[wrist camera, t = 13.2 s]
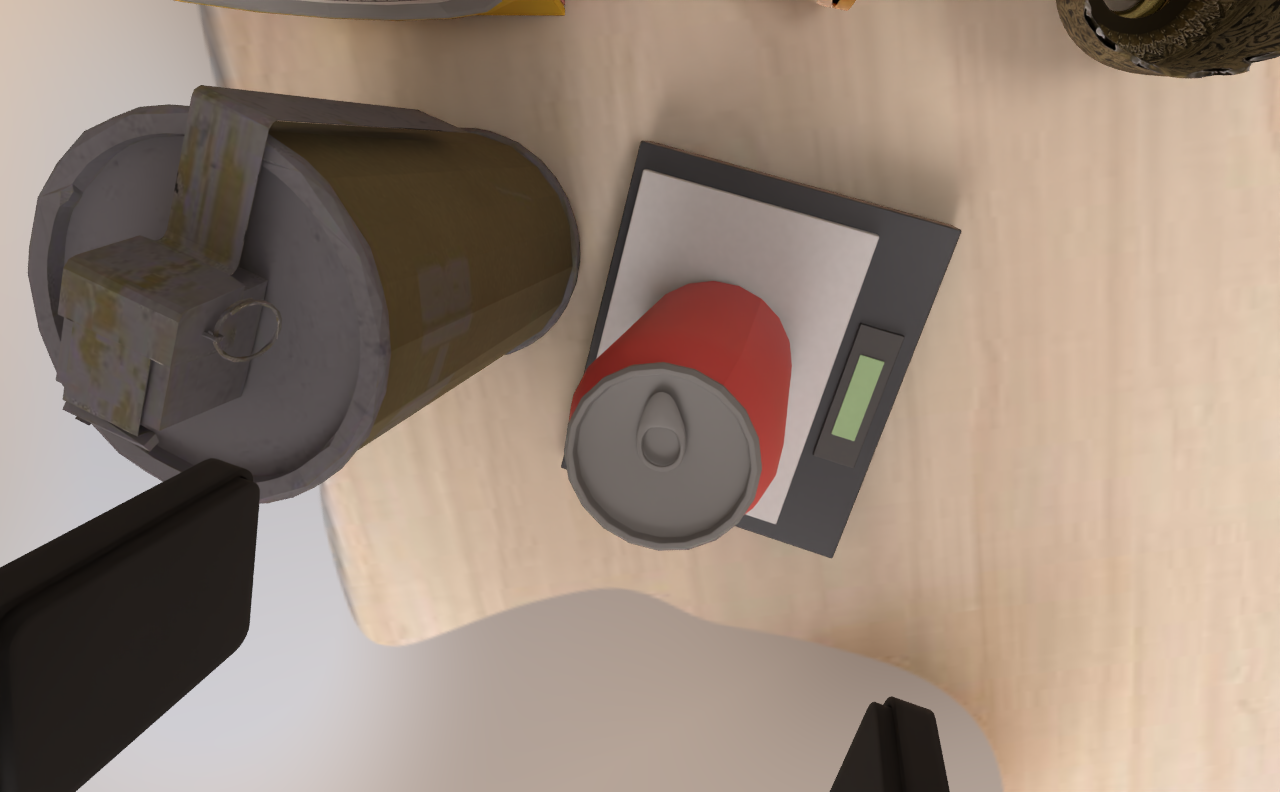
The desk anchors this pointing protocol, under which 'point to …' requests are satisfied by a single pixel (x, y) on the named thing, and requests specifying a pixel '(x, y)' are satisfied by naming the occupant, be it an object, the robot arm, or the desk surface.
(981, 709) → the desk surface
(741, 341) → the beer can
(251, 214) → the canister
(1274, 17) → the ornate brass lampshade
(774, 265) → the scale
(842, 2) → the ring
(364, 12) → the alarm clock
